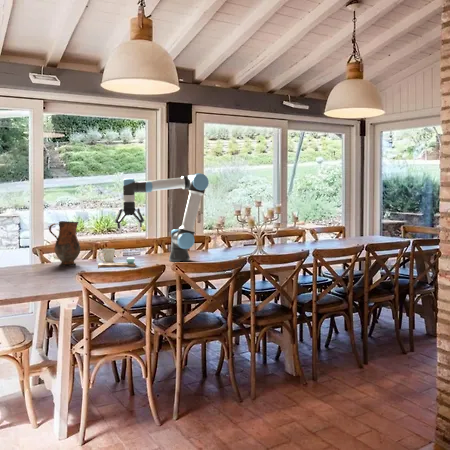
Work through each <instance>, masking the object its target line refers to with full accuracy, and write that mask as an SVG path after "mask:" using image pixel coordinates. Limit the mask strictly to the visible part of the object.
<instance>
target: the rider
mask: <svg viewBox="0 0 450 450" xmlns="http://www.w3.org/2000/svg"><path fill="white" fill-rule="evenodd" d="M134 262H135V257H127V258H126V263H128V264H134Z"/></svg>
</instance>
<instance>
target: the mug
mask: <svg viewBox="0 0 450 450" xmlns="http://www.w3.org/2000/svg"><path fill="white" fill-rule="evenodd" d="M115 250H116V249H115V248H102V251H101V250H100V251H99V252H98V253H97V258H98V260H100V261H101V262H103V263H114V260H115ZM101 254H102V256H103V257H102V258H101V257H100V255H101Z"/></svg>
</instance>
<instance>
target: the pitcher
mask: <svg viewBox="0 0 450 450" xmlns="http://www.w3.org/2000/svg"><path fill="white" fill-rule="evenodd" d="M78 224H79V222H78V221H66V220H64V221H63V220H61V221H58V227H59V228H58V229H59V231H58V235H56V234H55V233H53V232H52V228H53V226H55V225H56V223H51V224H50V226H49V227H48V231H49V233H50V234H51V235H52V236H53V237H55V239H56V241H55V243H54V254H55V255H56V257H57V259H58V260H60V261H61V263H59V266H60V267H71V266H76V265H77V263H76V262H75V260H76V259H78V257H79V255H80V253H81V244H80V241H79V239H78V235H77V228H78Z"/></svg>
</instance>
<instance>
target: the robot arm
mask: <svg viewBox="0 0 450 450" xmlns="http://www.w3.org/2000/svg"><path fill="white" fill-rule="evenodd" d="M208 186H209V178H208V176H207V175H206V174H204V173H200V172H198V173H192V174H191V173H190V174H187V175H181V177H174V178H164V179H154V180H144V181H140V180H139V181H135V178H124V179H122V190H123V193H122V194H123V196H122V197H123V208H119V209H118V213H117V215H116V218H115V220H114V223H115V224H117V225H116V226H117V229H118V233H119V234H122V221H124V219H125V217H126V216H133V217H134V218H135V219H136V220H137V233H141V232H142V231H141V228H142V226H143V225H142V224H143V223H144V222H145V219H144V217H143V215H142V213H141V210H140V208H139V207H138V208H137V207H136V203H135V200H136V197H135V196H136V195H135V194H136V193H147V194H149V193H152V192H154V191H155V192H156V191H166V190H174V189H182V190H187V191H188V192H189V194H188V198H187V202H186V207H185V211H184V214H183V218H182V219H183V220H182V224H181V226H179V227H178V228H177V229H172V230H171V233H170V235H171V238H170V239H171V244H170V245H171V246H170V247H171V251H170V254H169V257H168V260H169V262H174V263H181V262H180V261H183V263H185V262H189V261H191V258H190V253H189V251H188V249H191V248H192V247H193V246H194V245H195V242H196V241H195V233H196V231H195V229H194V228H195V224H196V220H197V215H198V212H199V207H200V203H201V199H202V196H204V195H205V192H206V189H207V188H208ZM122 213H123V214H122ZM121 215H122V216H121Z"/></svg>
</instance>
